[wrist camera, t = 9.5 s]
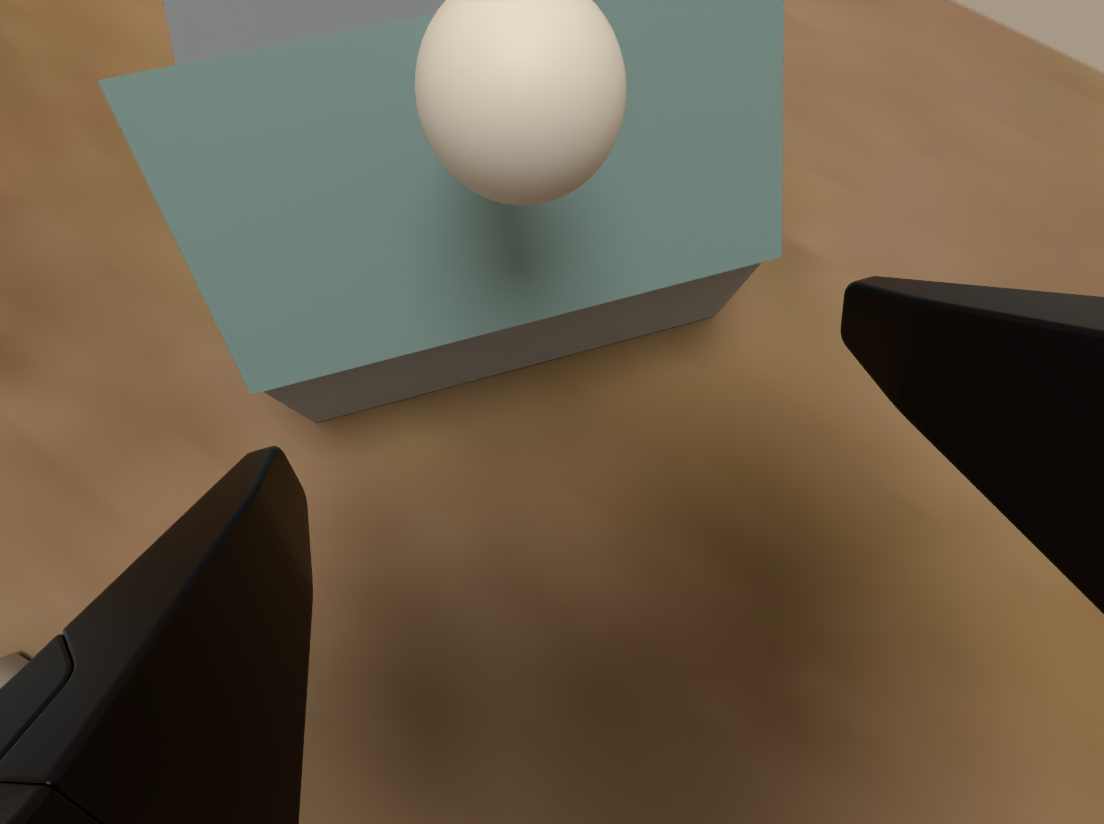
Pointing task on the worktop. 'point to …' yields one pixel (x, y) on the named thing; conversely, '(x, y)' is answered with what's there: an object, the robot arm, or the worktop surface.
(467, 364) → the carton
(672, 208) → the near flap
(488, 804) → the worktop surface
